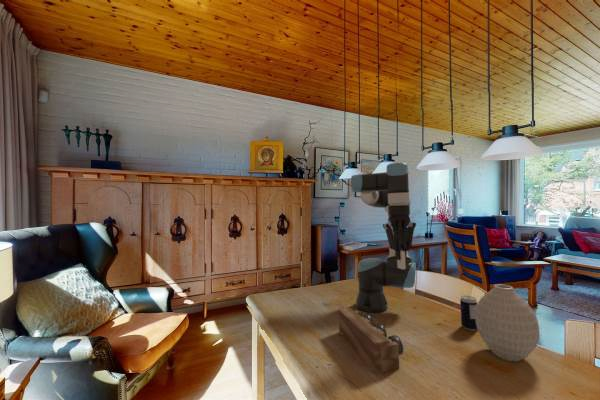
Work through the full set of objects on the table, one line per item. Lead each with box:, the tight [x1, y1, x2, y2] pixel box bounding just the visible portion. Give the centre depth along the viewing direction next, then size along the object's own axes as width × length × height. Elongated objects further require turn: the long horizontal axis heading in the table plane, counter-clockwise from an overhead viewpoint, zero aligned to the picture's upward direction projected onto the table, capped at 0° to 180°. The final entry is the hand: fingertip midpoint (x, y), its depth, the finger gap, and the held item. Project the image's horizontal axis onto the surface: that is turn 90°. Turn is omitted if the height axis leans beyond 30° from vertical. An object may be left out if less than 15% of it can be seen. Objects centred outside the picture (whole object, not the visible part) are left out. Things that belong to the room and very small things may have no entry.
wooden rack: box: [338, 307, 400, 375], centre depth 90 cm, size 8×27×9 cm, turn 15°
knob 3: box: [387, 334, 404, 356], centre depth 82 cm, size 9×6×6 cm, turn 105°
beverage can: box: [459, 295, 478, 332], centre depth 102 cm, size 6×6×12 cm
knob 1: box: [360, 313, 374, 326], centre depth 100 cm, size 9×6×6 cm, turn 105°
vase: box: [475, 283, 540, 363], centre depth 84 cm, size 16×16×22 cm
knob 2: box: [373, 323, 388, 339], centre depth 91 cm, size 9×6×6 cm, turn 105°
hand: (401, 268), depth 95 cm, fingers closed
